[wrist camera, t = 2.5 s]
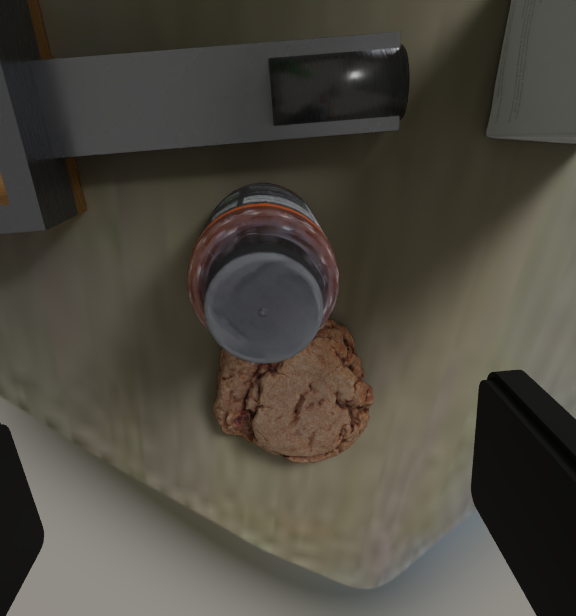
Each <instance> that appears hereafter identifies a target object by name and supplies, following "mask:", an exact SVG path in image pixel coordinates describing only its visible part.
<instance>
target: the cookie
mask: <svg viewBox="0 0 576 616" xmlns="http://www.w3.org/2000/svg"><path fill="white" fill-rule="evenodd" d="M363 377H364V371H363V368H362V367H361V360H360V358H359V357H357V355H356V353H355V343H354V339H353V337H352V335H351V333H350V331H349V330H348V329H347V327H346V326H344V325H340V324H338V323H337V322H335V321H334V320H333V319H328V320H327V321H326V323H325V324H324V326H323V327H322V328H321V329H320V330H319V331H318V332H317V334H316V336H315V337H314V339H313V340H312V341H311V343H310V344H309V345H308V346H307V347H306V348H305V349H304V350H302V351H301V352H300V353H298V354H296V355H295V356H293V357H291V358H289V359H286V360H284V361H281V362H277V363H267V364H261V363H252V362H248V361H244V360H242V359H239V358H237V357H235V356H233V355H231V354H230V353H228V352H227V351H225V350H224V349H223V348H222V352H221V357H220V372H219V374H218V379H217V389H218V394H217V398H216V400H215V403H214V405H213V412H214V415H215V417H216V418H217V420H218V421H219V424H220V425H221V428H222V430H223V431H224V432H225V433H226V434H231V435H239V436H242V437H244V438H245V439H246V440H247V441H248V442H253V443H255V444H256V445H257V446H259V447H261V448H262V449H264V450H265V451H267V452H269V453H271V454H274V455H278V456H281V454H282V455H283V457H284V458H286V459H288V460H289V461H291V462H295V463H315V462H319V461H322V460H325V459H328V458H331V457H334V456H336V455H338V454H340V453H342V452H343V451H344V450H346V449H348V448H349V447H350V446H351V445H352V444H353V443H354V442H355V440H356V439H357V438H358V437H359V436H360V435H361V434H362V433H363V431H364V429H365V428H366V426H367V423H368V420H369V417H370V416H369V407H370V406H371V405H372V402H373V389H372V387H371V386H370V385H368V384H366V383H364V382H363Z"/></svg>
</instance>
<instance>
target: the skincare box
mask: <svg viewBox="0 0 576 616" xmlns="http://www.w3.org/2000/svg"><path fill="white" fill-rule="evenodd" d="M486 136H488V137H491V138H499V139H513V140H527V141H541V142H555V143H571V144H576V0H511V4H510V9H509V14H508V20H507V25H506V30H505V35H504V40H503V46H502V51H501V56H500V62H499V67H498V72H497V77H496V83H495V89H494V95H493V102H492V109H491V113H490V118H489V122H488V127H487V131H486Z"/></svg>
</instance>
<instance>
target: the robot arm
mask: <svg viewBox="0 0 576 616" xmlns="http://www.w3.org/2000/svg"><path fill="white" fill-rule="evenodd" d="M471 493H472V498H473V502H474V505H475V507H476V509H477V510H478V512H479V514H480V516H481V518H482V519H483V521H484V523H485V524H486V526H487V528H488V530H489V532H490V534H491V535H492V537H493V539H494V541H495V542H496V544H497V546H498V548H499V550H500V551H501V553H502V555H503V556H504V558H505V560H506V562H507V564H508V565H509V567H510V569H511V571H512V572H513V574H514V576H515V578H516V580H517V581H518V583H519V585H520V587H521V589H522V590H523V592H524V594H525V596H526V597H527V599H528V601H529V603H530V605H531V606H532V608H533V610H534V612H535V613H536V615H537V616H576V419H575V418H574V417H573V416H572V415H570V414H569V413H568V412H567V411H566V410H565V409H564V408H563V407H562V406H561V405H560V404H559V403H558V402H556V401H555V400H554V399H553V398H552V397H551V396H550V395H549V394H548V393H547V392H546V391H545V390H543V389H542V388H541V387H540V386H539V385H538V384H537V383H536V382H535V381H534V380H533V379H532V378H531V377H529V376H528V375H527V374H526V373H525V372H524V371H522V370H510V371H499V372H491V373H490V374H489V375H488V377H487V380H482V381H481V382H480V385H479V393H478V405H477V418H476V430H475V443H474V456H473V468H472V481H471ZM43 541H44V530H43V526H42V523H41V520H40V517H39V514H38V511H37V508H36V505H35V502H34V499H33V497H32V494H31V491H30V488H29V485H28V482H27V479H26V476H25V473H24V470H23V467H22V464H21V461H20V458H19V456H18V453H17V450H16V447H15V444H14V441H13V438H12V435H11V432H10V430H9V428H8V427H7V426H6V425H3V424H2V425H1V423H0V616H6V614H7V612H8V611H9V609H10V607H11V605H12V603H13V601H14V599H15V597H16V595H17V593H18V592H19V590H20V588H21V586H22V584H23V582H24V580H25V578H26V577H27V575H28V573H29V571H30V569H31V567H32V565H33V563H34V562H35V560H36V558H37V556H38V554H39V552H40V550H41V548H42V545H43Z"/></svg>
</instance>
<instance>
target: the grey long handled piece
mask: <svg viewBox="0 0 576 616" xmlns="http://www.w3.org/2000/svg"><path fill="white" fill-rule="evenodd" d="M408 94H409V63H408V56H407V52H406V49H405V47H404V45H402V44H400V32H389V33H377V34H364V35H351V36H339V37H326V38H313V39H301V40H288V41H275V42H263V43H250V44H237V45H225V46H212V47H199V48H186V49H174V50H161V51H148V52H136V53H123V54H110V55H98V56H85V57H72V58H60V59H52V58H51V54H50V50H49V45H48V41H47V37H46V32H45V28H44V24H43V20H42V15H41V11H40V7H39V2H38V0H0V234H7V233H19V232H31V231H43V230H47V229H49V228H51V227H54V226H56V225H58V224H60V223H62V222H64V221H66V220H68V219H70V218H72V217H74V216H76V215H78V214H80V213H82V212H84V211H86V210H87V208H86V204H85V200H84V196H83V191H82V187H81V183H80V178H79V174H78V170H77V166H76V161H75V156H87V155H99V154H111V153H124V152H136V151H148V150H161V149H173V148H185V147H197V146H210V145H222V144H234V143H247V142H259V141H271V140H283V139H296V138H308V137H320V136H333V135H345V134H357V133H369V132H382V131H394V130H399V120H401V119H402V118H403V116H404V114H405V111H406V107H407V102H408Z"/></svg>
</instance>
